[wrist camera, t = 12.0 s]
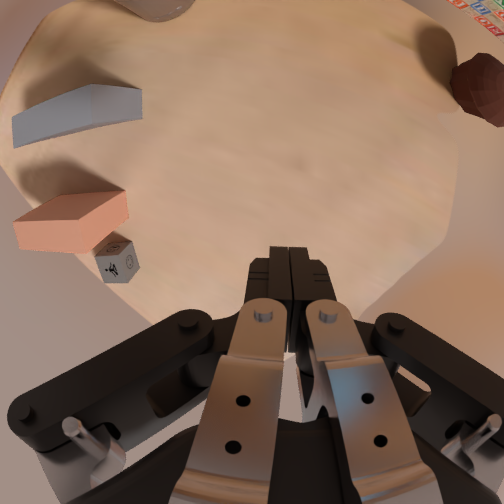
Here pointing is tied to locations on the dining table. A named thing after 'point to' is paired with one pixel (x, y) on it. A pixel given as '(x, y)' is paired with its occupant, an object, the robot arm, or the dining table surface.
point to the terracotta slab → (72, 222)
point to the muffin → (480, 88)
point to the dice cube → (117, 262)
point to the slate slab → (77, 113)
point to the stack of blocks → (485, 13)
